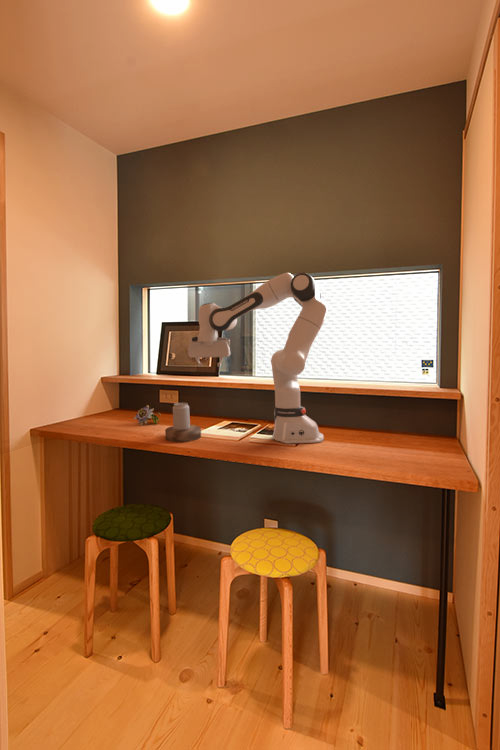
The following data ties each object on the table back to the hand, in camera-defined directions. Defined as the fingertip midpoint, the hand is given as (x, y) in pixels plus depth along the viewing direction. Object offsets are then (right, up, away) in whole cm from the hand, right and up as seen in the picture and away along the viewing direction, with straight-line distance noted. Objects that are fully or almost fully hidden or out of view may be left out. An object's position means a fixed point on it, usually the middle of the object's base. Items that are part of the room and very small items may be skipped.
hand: (209, 366), depth 194 cm
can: (-12, -29, -10) cm, 33 cm away
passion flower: (-35, -30, +22) cm, 51 cm away
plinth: (-11, -33, -9) cm, 36 cm away
